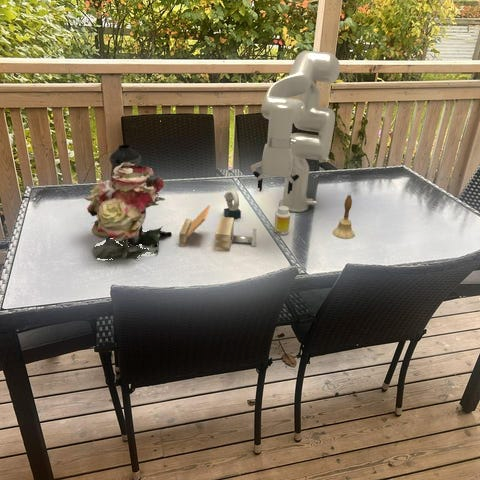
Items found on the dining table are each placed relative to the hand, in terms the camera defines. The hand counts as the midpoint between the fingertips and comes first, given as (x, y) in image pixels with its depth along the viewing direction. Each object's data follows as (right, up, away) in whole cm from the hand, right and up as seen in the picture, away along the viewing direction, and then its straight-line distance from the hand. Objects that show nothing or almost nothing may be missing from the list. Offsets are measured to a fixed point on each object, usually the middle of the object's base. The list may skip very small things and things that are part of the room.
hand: (274, 191), depth 155 cm
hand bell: (+28, -14, +20) cm, 37 cm away
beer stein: (-58, -2, +34) cm, 67 cm away
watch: (-15, -7, +29) cm, 33 cm away
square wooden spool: (-24, -17, +11) cm, 31 cm away
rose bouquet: (-51, -19, +5) cm, 55 cm away
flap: (-26, -10, +8) cm, 29 cm away
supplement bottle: (+4, -14, +19) cm, 24 cm away
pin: (-10, -18, +10) cm, 23 cm away
